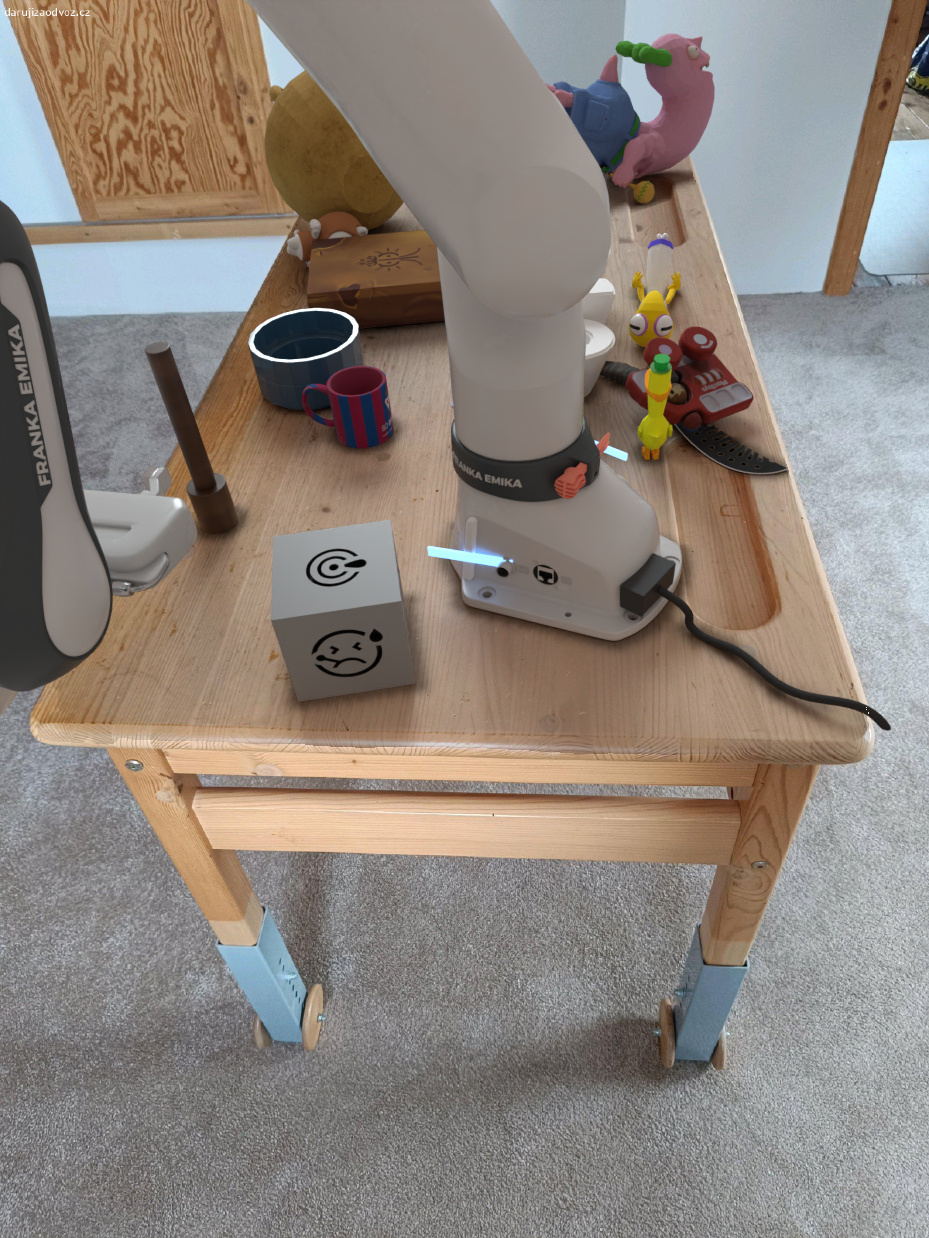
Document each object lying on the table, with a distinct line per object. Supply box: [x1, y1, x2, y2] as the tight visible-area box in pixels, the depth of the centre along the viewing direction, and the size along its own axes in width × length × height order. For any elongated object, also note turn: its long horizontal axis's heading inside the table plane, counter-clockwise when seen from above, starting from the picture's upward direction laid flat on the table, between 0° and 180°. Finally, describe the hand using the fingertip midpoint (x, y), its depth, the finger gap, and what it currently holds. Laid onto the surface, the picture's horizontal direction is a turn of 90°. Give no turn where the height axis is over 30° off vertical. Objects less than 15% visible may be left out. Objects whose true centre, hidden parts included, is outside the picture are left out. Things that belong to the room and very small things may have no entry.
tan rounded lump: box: [263, 69, 404, 231], centre depth 135 cm, size 24×24×30 cm
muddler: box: [144, 341, 239, 535], centre depth 82 cm, size 4×4×20 cm
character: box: [628, 232, 682, 348], centre depth 110 cm, size 6×10×20 cm
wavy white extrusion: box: [582, 249, 616, 398], centre depth 106 cm, size 35×16×11 cm, turn 172°
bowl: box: [247, 308, 366, 411], centre depth 105 cm, size 13×13×7 cm
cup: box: [302, 365, 395, 450], centre depth 97 cm, size 7×10×7 cm
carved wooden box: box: [306, 229, 445, 330], centre depth 120 cm, size 23×19×6 cm
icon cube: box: [270, 519, 416, 703], centre depth 71 cm, size 10×10×10 cm
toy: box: [544, 33, 716, 205], centre depth 141 cm, size 24×24×30 cm
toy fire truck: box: [624, 326, 755, 431], centre depth 94 cm, size 7×12×10 cm
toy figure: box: [636, 354, 673, 461], centre depth 88 cm, size 7×4×12 cm, turn 178°
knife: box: [599, 360, 789, 475], centre depth 96 cm, size 28×2×5 cm
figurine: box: [286, 211, 369, 268], centre depth 128 cm, size 9×9×12 cm
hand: (110, 469), depth 70 cm, fingers open, 8 cm apart
